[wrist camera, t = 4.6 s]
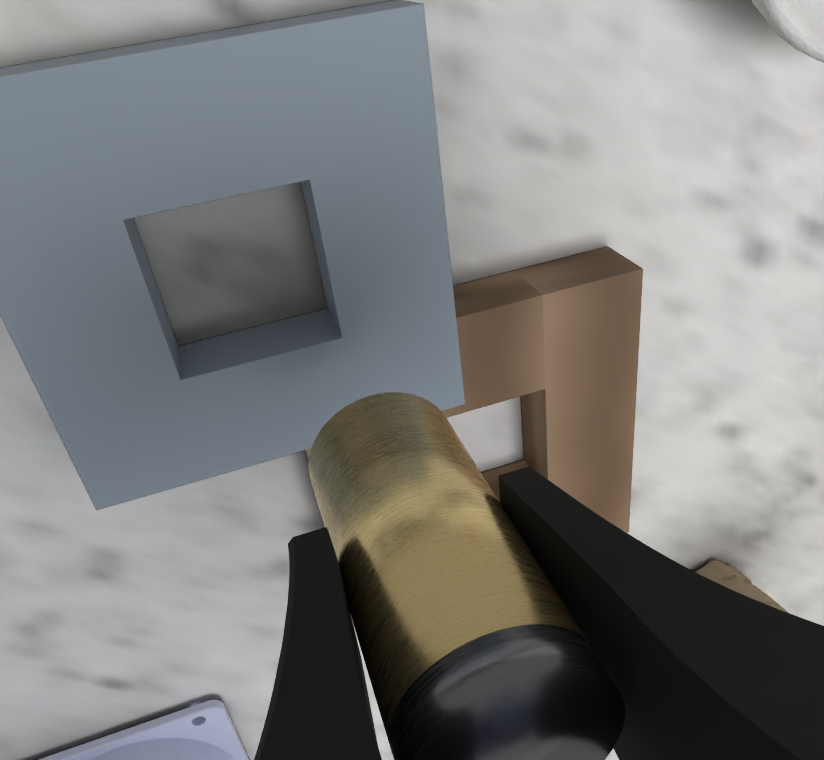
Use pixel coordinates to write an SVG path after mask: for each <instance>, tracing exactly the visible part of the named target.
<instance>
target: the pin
mask: <svg viewBox="0 0 824 760" xmlns="http://www.w3.org/2000/svg"><path fill="white" fill-rule="evenodd" d="M308 467H309V475H310V479H311V483H312V486H313V490H314V493H315V496H316V500H317V503H318V506H319V510H320V513H321V516H322V520H323V523H324V526H325V527H327V529H328V532H329V535H330V538H331V541H332V544H333V547H334V550H335V553H336V556H337V560H338V564H339V568H340V572H341V577H342V581H343V585H344V589H345V593H346V597H347V601H348V606H349V610H350V613H351V617H352V620H353V623H354V627H355V630H356V633H357V637H358V640H359V643H360V647H361V650H362V654H363V657H364V660H365V664H366V667H367V670H368V674H369V677H370V680H371V684H372V687H373V690H374V694H375V697H376V700H377V704H378V707H379V710H380V714H381V717H382V720H383V724H384V727H385V730H386V734H387V737H388V740H389V744H390V747H391V751H392V754H393V757H394V760H605V758H606V757H607V756H608V754H609V753H610V752H611V750H612V749H613V747H614V746H615V744H616V742H617V741H618V739H619V736H620V734H621V732H622V729H623V726H624V722H625V714H626V709H625V702H624V700H623V697H622V695H621V693H620V692H619V690H618V689H617V687H616V685H615V684H614V682H613V681H612V679H611V677H610V676H609V674H608V673H607V671H606V670H605V668H604V666H603V665H602V663H601V662H600V660H599V659H598V657H597V655H596V654H595V652H594V651H593V649H592V647H591V646H590V644H589V643H588V641H587V640H586V638H585V636H584V635H583V633H582V632H581V630H580V629H579V627H578V625H577V624H576V622H575V621H574V619H573V617H572V616H571V614H570V613H569V611H568V610H567V608H566V606H565V605H564V603H563V602H562V600H561V599H560V597H559V595H558V594H557V592H556V591H555V589H554V587H553V586H552V584H551V583H550V581H549V580H548V578H547V576H546V575H545V573H544V572H543V570H542V569H541V567H540V565H539V564H538V562H537V561H536V559H535V557H534V556H533V554H532V553H531V551H530V550H529V548H528V546H527V545H526V543H525V542H524V540H523V539H522V537H521V535H520V534H519V532H518V531H517V529H516V527H515V526H514V524H513V523H512V521H511V520H510V518H509V516H508V515H507V513H506V512H505V510H504V509H503V507H502V505H501V504H500V502H499V501H498V499H497V497H496V496H495V494H494V493H493V491H492V490H491V488H490V486H489V485H488V483H487V482H486V480H485V479H484V477H483V475H482V474H481V472H480V471H479V469H478V467H477V466H476V464H475V463H474V461H473V460H472V458H471V456H470V455H469V453H468V452H467V450H466V449H465V447H464V445H463V444H462V442H461V441H460V439H459V437H458V436H457V434H456V433H455V431H454V430H453V428H452V426H451V425H450V423H449V422H448V420H447V419H446V417H445V416H444V414H443V413H442V412H441V410H440V409H439V408H438V407H437V406H435V405H434V404H433V403H431V402H430V401H428V400H426V399H424V398H422V397H419V396H417V395H413V394H409V393H401V392H386V393H380V394H375V395H371V396H367V397H364V398H362V399H359V400H357V401H355V402H353V403H351V404H349V405H347V406H346V407H344V408H343V409H341V410H340V411H339V412H337V413H336V414H335V415H334V416H333V417H331V419H330V420H329V421H328V422H327V423H326V424H325V425H324V426H323V428H322V429H321V430H320V432H319V433H318V435H317V437H316V439H315V440H314V443H313V445H312V448H311V451H310V455H309V464H308Z"/></svg>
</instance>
